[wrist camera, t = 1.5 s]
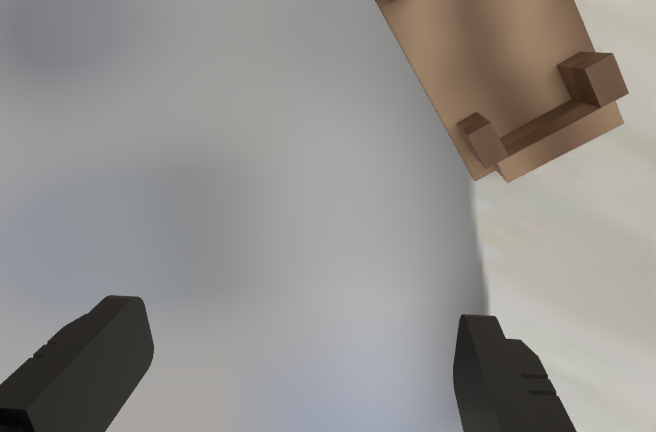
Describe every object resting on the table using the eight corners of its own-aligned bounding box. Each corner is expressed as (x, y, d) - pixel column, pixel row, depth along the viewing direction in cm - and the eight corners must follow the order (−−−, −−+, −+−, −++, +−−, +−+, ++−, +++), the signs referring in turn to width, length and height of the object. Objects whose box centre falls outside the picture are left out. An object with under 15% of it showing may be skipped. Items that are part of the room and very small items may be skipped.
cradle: (494, -173, 23) (523, -226, 18) (609, 104, 28) (654, 116, 23) (345, -55, 26) (337, -75, 22) (472, 176, 31) (488, 200, 26)
